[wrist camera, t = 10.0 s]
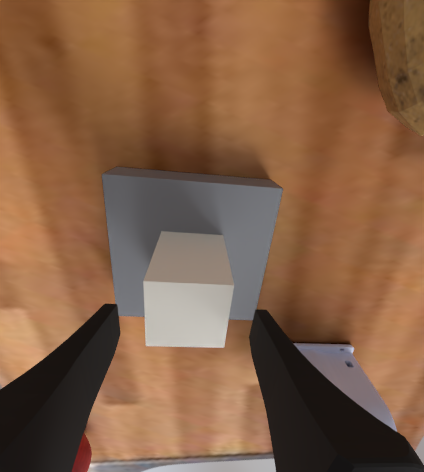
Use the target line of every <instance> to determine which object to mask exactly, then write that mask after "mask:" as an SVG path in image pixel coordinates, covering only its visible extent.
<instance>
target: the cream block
mask: <svg viewBox="0 0 424 472" xmlns="http://www.w3.org/2000/svg"><path fill="white" fill-rule="evenodd" d="M143 287H144V312H145V337H146V346H168V347H211V348H224V345H225V339H226V333H227V326H228V320H229V314H230V308H231V302H232V296H233V290H234V282H233V278H232V273H231V269H230V264H229V259H228V255H227V250H226V246H225V241H224V237H223V235H213V234H197V233H181V232H166V231H161V234H160V237H159V240H158V242H157V245H156V248H155V250H154V253H153V256H152V259H151V261H150V264H149V267H148V270H147V272H146V275H145V278H144V281H143Z"/></svg>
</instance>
